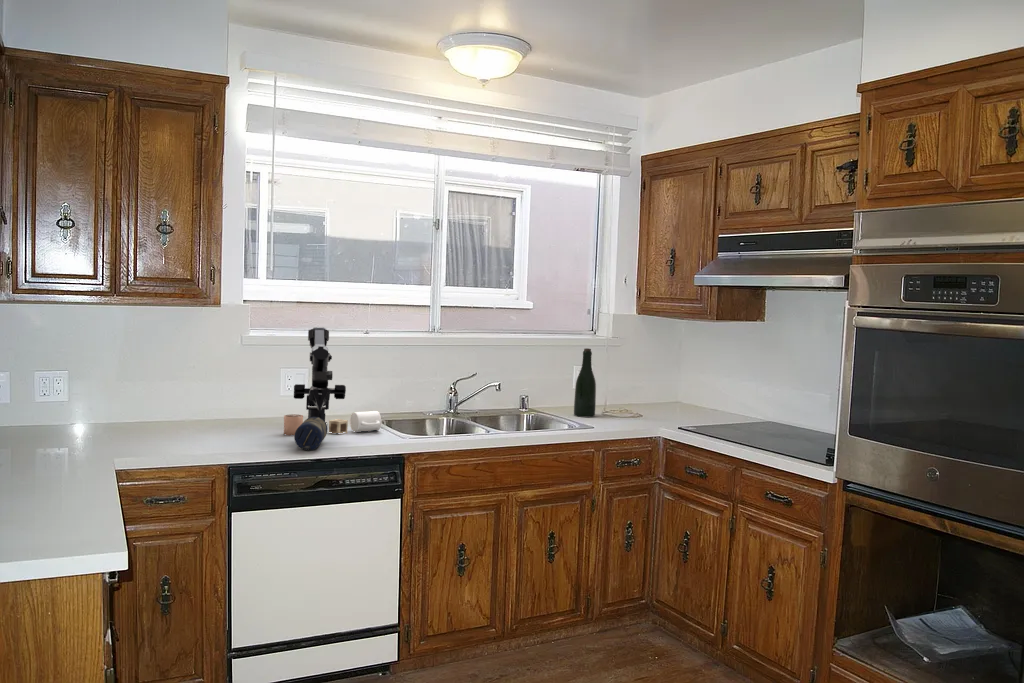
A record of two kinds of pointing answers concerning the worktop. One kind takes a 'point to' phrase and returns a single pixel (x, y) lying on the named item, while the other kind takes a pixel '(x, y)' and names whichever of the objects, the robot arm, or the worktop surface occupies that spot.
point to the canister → (311, 433)
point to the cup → (292, 423)
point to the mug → (365, 421)
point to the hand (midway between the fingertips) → (319, 409)
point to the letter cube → (338, 426)
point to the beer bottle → (585, 388)
